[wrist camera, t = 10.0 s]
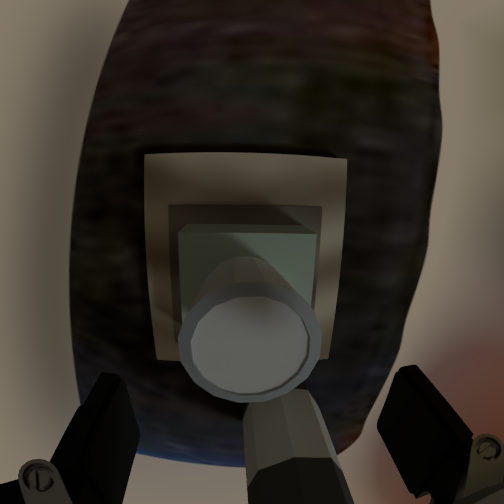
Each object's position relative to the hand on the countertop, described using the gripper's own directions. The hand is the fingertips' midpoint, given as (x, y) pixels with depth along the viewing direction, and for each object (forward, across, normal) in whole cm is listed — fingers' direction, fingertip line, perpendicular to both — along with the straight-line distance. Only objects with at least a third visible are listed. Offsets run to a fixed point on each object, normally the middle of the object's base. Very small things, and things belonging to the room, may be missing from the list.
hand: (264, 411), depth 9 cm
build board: (+17, 0, 0) cm, 17 cm away
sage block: (+16, 0, +1) cm, 16 cm away
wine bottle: (+17, -4, +16) cm, 24 cm away
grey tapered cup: (+12, 0, +1) cm, 12 cm away
